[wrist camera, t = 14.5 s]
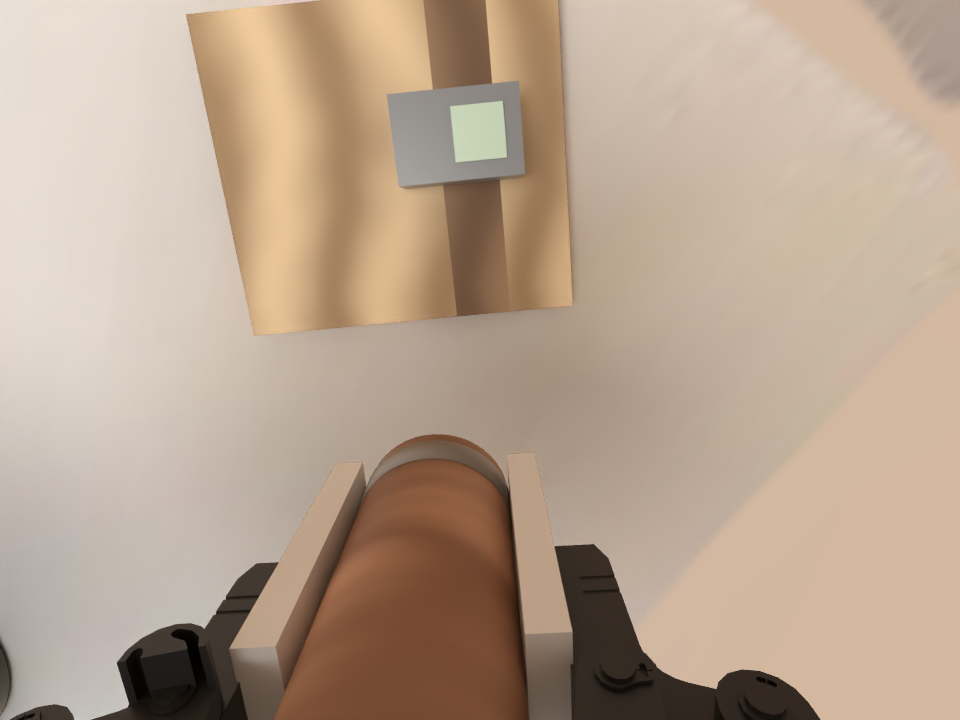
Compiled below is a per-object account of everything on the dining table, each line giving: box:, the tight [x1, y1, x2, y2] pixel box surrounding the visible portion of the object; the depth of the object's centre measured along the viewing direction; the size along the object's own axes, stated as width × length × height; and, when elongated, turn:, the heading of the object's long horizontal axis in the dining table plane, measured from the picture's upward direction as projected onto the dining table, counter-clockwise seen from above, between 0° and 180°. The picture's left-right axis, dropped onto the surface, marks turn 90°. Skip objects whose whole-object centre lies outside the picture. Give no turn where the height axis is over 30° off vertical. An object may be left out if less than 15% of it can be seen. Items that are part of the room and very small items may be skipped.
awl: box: [274, 434, 529, 720], centre depth 11 cm, size 4×4×10 cm
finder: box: [387, 81, 525, 189], centre depth 26 cm, size 6×4×3 cm, turn 95°
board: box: [186, 0, 573, 336], centre depth 28 cm, size 18×16×1 cm
